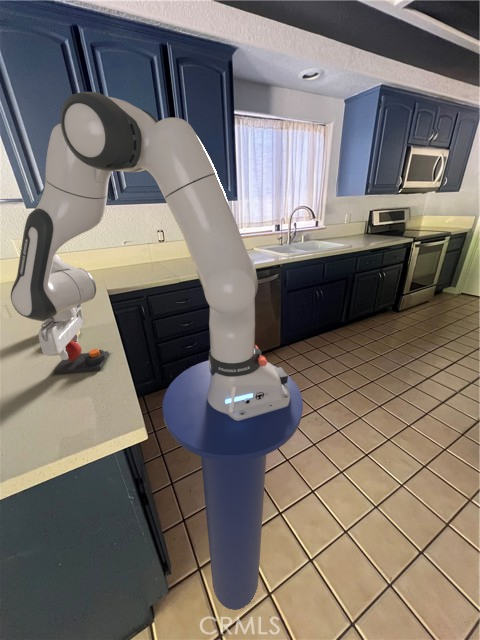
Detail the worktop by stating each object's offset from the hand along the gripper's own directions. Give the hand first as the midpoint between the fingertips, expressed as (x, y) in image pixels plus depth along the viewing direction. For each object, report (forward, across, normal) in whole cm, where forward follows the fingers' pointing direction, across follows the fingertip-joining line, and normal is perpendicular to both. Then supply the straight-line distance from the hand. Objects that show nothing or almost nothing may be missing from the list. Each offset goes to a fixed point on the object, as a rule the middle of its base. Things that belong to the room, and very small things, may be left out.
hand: (70, 352), depth 81 cm
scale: (+5, 0, -2) cm, 5 cm away
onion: (+3, 0, 0) cm, 3 cm away
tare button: (+2, 0, -6) cm, 7 cm away
